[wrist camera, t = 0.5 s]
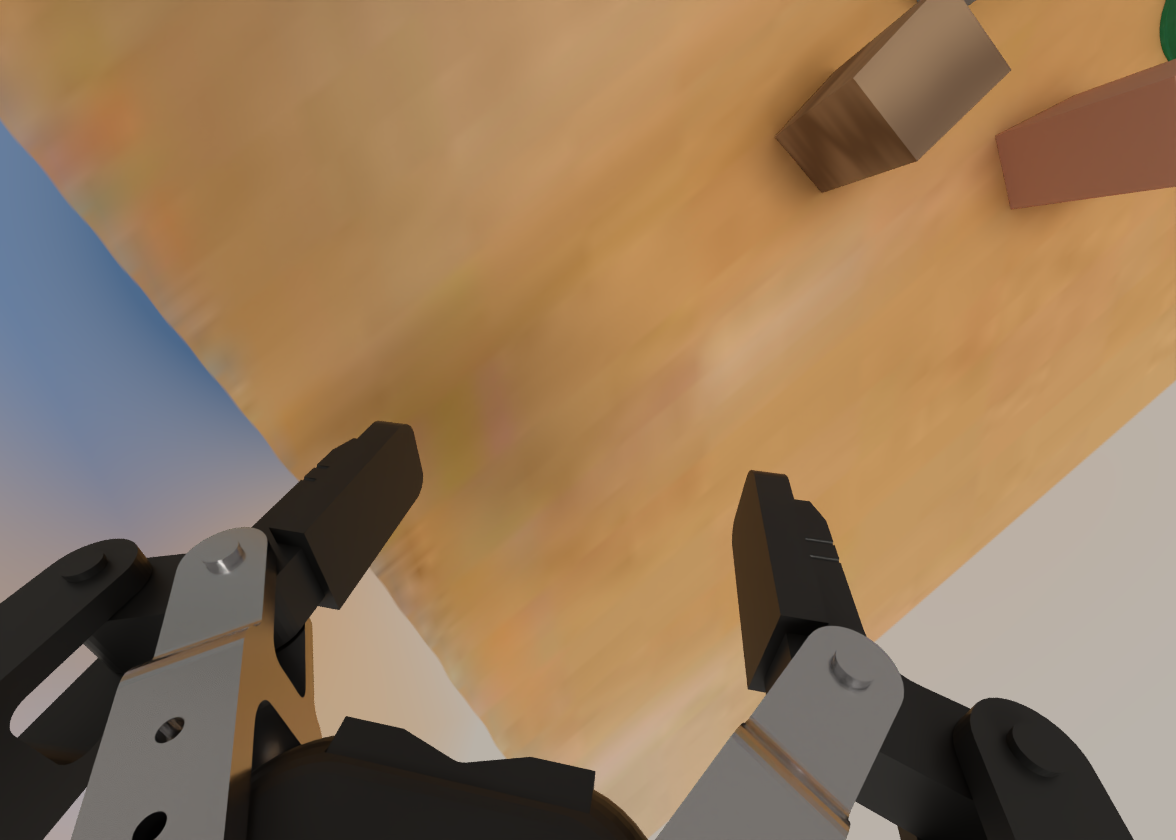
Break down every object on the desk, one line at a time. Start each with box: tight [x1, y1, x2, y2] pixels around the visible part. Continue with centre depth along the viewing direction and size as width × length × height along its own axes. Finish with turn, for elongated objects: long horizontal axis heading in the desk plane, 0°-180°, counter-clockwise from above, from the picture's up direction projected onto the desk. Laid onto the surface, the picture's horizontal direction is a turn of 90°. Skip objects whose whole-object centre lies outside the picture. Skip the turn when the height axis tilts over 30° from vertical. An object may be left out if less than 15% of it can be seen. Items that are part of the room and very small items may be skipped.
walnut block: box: [775, 0, 1011, 193], centre depth 26 cm, size 5×5×10 cm
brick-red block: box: [995, 59, 1176, 209], centre depth 26 cm, size 5×5×10 cm
